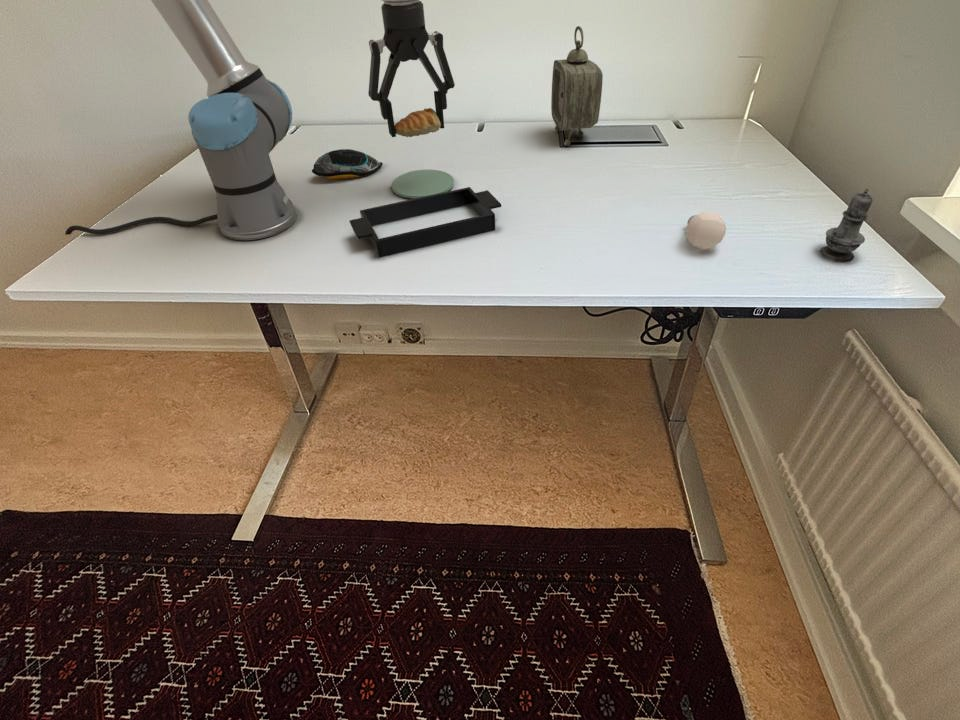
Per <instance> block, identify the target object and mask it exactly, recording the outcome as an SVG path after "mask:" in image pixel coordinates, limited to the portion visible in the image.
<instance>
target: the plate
mask: <svg viewBox="0 0 960 720" xmlns="http://www.w3.org/2000/svg"><path fill="white" fill-rule="evenodd" d="M454 185H455V180H454V177H453V176H452V175H451V174H450V173H448V172H446V171H443V170H438V169H416V170H412V171H409V172H405V173H402V174H400V175H398V176H397V177H395V178H394V179H393V180H392V182H391V190H392V192H393V193H394V194H396V195H397V196H399V197H401V198H406V199H416V198H420V197H425V196H430V195H434V194H439V193H444V192H448V191H451V190H452V188H453V187H454Z"/></svg>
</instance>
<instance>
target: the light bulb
mask: <svg viewBox="0 0 960 720" xmlns="http://www.w3.org/2000/svg"><path fill="white" fill-rule="evenodd" d="M726 226H727V225H726V222H725V221H724V219H723V218H722V217H721V215H720V214H718V213H716V212H713V211H702V212H699V213H697V214H694V215H691V216H690V217H689V218H688V220H687V224H686V231H685V233H686V237H687V241H688V242H689V244H690V245H691V246H692V247H694V248H697V249H699V250H710V249H713V248H715V247H717V246H718V245H719V244H720V243H721V242H722V241H723V239H724V238H725V236H726V231H727V227H726Z"/></svg>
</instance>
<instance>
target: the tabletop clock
mask: <svg viewBox="0 0 960 720" xmlns="http://www.w3.org/2000/svg"><path fill="white" fill-rule="evenodd" d="M578 31H579V33H580V37H581V38H580V39H581V40H578V39H577V33H578ZM573 40H574V46H575V48H574V49H571V50H570V51H569V52H568V54H567V57H566V59H555V60H554V61H553V66H552V77H551V78H552V79H551V100H550V102H551V103H550V104H551V106H550V109H551V118H552V121H553V122H554V124H555V127H554V130H555V132H560V131H568V133H567V134H568V135H567V139H565V140H564V142H563V145H564V147H569V146H571V140H570V139H571V137H572V135H573V133H574V131H575V130H578V131H577V133H576V136H577V138H583V136H584V132H583V131H582V129H591V128H593V127H594V126H595V125H597V124H598V123H599V118H600V110H601V104H602V103H601V102H602V95H603V94H602V93H603V78H604V77H603V76H604V75H603V71H602V69H601V68H600V67H599V66H598V65H597V63H595V62H594V61H592V60H590V59H589V56H588V53H587V51H586V50H584V49H582V48H583V46H584V30H583V28H582V27H581V26H580V25H577V26H576V27H575V29H574V39H573Z"/></svg>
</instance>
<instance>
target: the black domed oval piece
mask: <svg viewBox="0 0 960 720" xmlns="http://www.w3.org/2000/svg"><path fill="white" fill-rule="evenodd" d="M383 164H384V163H383V162H382V161H379V160H377V159H376V158H374V157H373V156H371V155H369V154H367V153H365V152H362V151H360V150H359V151H358V150H355V149H350V148H344V149H343V148H341V149H335V150H330V151H328V152H325V153H323V154H322V155H321V156H319V157H318V158H317V159H316V160H315V162H314V163H313V166H312V167H313V168H312V169H311V173H313V174H314V175H315V176H318V177H323V178H326V179H333V180H338V179H339V180H343V179H355V178H361V177H362V178H363V177H368V176H371V175H373V174H374V173H375V172H377V171H378V170H379V169H381V168H382V166H384V165H383Z"/></svg>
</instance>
